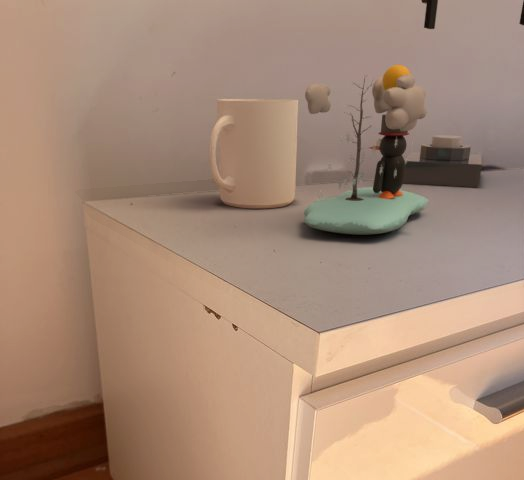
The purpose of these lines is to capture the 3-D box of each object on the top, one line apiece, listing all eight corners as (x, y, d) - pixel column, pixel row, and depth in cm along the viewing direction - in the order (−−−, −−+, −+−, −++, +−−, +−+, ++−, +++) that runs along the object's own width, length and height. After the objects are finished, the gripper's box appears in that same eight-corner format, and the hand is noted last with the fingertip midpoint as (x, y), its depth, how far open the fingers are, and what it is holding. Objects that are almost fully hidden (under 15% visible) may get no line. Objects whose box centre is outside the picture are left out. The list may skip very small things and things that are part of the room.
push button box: (478, 175, 94) (483, 143, 92) (478, 187, 83) (484, 151, 81) (410, 171, 97) (413, 140, 95) (401, 183, 86) (405, 148, 84)
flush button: (460, 147, 89) (462, 135, 88) (460, 150, 85) (461, 138, 85) (431, 146, 90) (433, 134, 90) (429, 149, 87) (431, 137, 86)
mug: (307, 199, 73) (311, 100, 68) (261, 216, 63) (262, 102, 58) (244, 192, 77) (243, 98, 72) (192, 207, 68) (187, 100, 63)
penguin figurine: (355, 201, 72) (366, 67, 65) (440, 211, 67) (461, 67, 60) (278, 233, 56) (282, 61, 50) (381, 249, 51) (400, 60, 45)
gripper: (400, -151, 77) (384, 27, 87) (608, -193, 65) (564, 20, 74) (419, -135, 83) (402, 31, 92) (613, -171, 71) (572, 25, 80)
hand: (474, 26), depth 83 cm, fingers open, 13 cm apart
